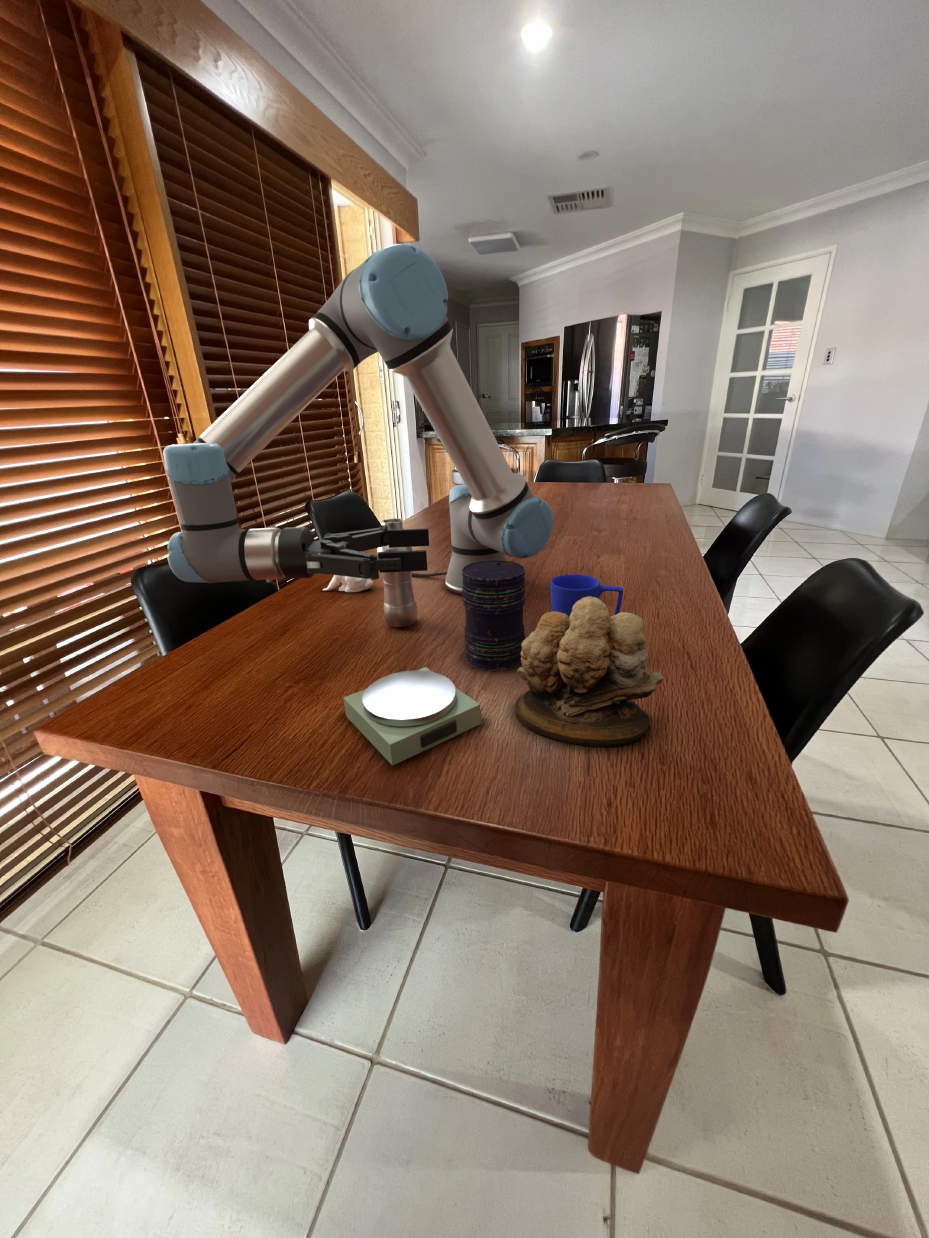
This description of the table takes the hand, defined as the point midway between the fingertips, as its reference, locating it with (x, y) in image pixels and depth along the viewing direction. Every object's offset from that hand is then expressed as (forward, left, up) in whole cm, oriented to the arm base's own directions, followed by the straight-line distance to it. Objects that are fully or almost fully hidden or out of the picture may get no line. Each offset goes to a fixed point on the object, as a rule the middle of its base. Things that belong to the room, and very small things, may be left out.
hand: (428, 547), depth 74 cm
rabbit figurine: (-44, +5, -19) cm, 48 cm away
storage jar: (+5, +8, -19) cm, 21 cm away
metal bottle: (-17, +3, -19) cm, 25 cm away
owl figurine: (+26, +6, -19) cm, 33 cm away
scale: (+12, -12, -19) cm, 25 cm away
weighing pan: (+12, -12, -16) cm, 23 cm away
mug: (+9, +25, -19) cm, 33 cm away
